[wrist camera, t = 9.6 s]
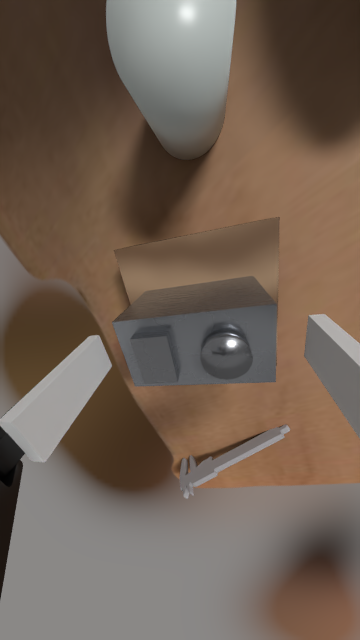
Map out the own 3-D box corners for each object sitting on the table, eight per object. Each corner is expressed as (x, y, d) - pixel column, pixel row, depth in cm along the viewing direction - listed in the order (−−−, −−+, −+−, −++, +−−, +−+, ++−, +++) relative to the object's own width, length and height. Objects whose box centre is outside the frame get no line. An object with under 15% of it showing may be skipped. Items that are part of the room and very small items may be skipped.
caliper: (185, 459, 37) (180, 501, 31) (182, 456, 37) (176, 497, 31) (289, 426, 29) (307, 473, 24) (285, 422, 29) (303, 468, 23)
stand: (130, 246, 21) (113, 250, 18) (266, 219, 18) (279, 216, 15) (159, 352, 27) (150, 371, 23) (267, 345, 24) (276, 365, 20)
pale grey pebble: (145, 77, 15) (86, -54, 8) (221, 46, 14) (230, -141, 7) (161, 168, 18) (127, 127, 11) (228, 149, 16) (240, 88, 9)
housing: (158, 339, 21) (130, 396, 14) (145, 291, 19) (104, 329, 12) (254, 331, 19) (280, 393, 12) (253, 275, 17) (282, 310, 10)
